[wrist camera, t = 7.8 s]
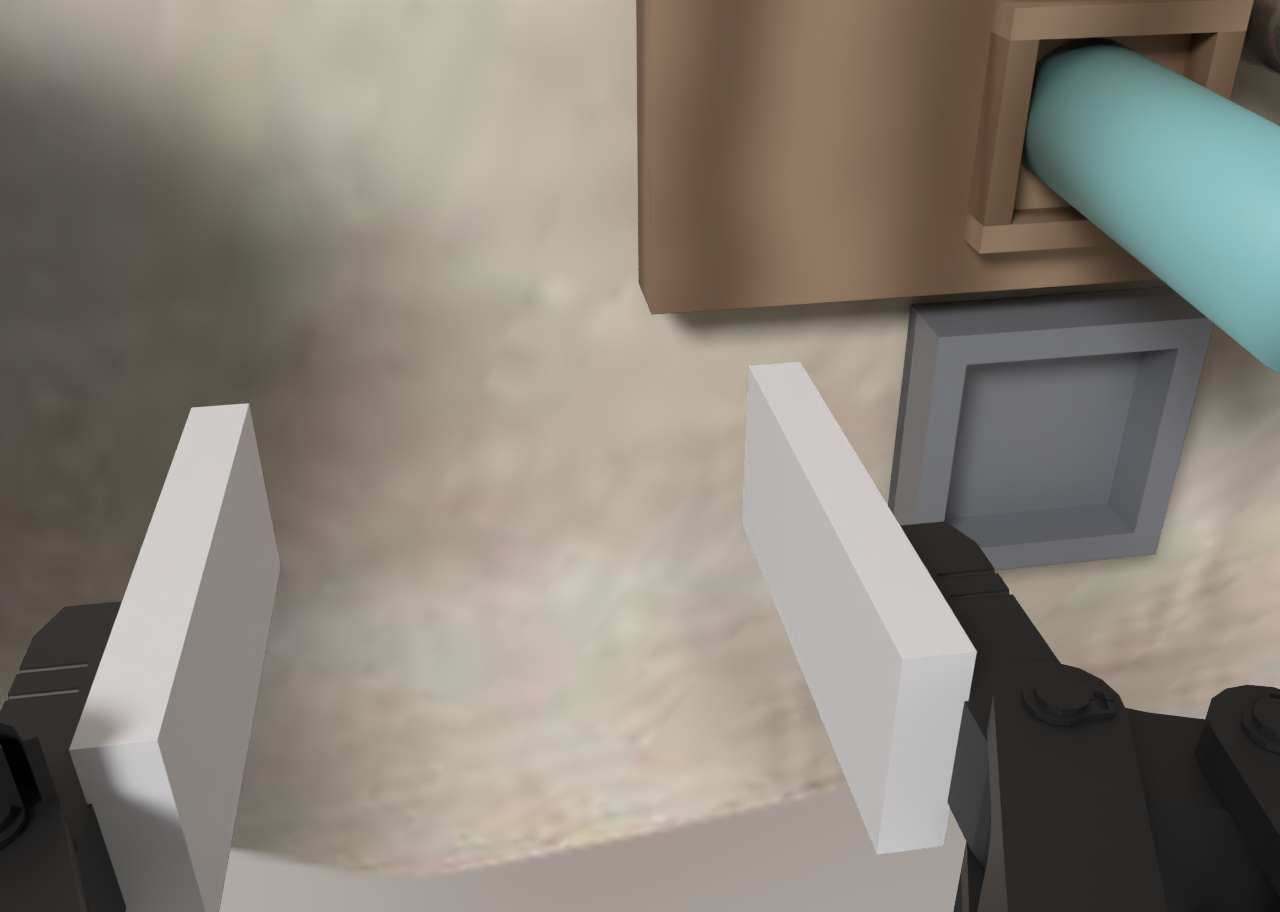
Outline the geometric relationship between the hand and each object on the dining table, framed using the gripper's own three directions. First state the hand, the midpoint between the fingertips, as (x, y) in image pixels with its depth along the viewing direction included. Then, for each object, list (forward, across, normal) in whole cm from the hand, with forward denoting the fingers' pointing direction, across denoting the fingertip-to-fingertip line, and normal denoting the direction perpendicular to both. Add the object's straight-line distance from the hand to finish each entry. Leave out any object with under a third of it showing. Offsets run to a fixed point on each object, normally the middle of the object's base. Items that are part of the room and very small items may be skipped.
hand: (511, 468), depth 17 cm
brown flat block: (+20, +13, 0) cm, 23 cm away
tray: (+19, +18, -11) cm, 28 cm away
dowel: (+17, +17, 0) cm, 24 cm away
